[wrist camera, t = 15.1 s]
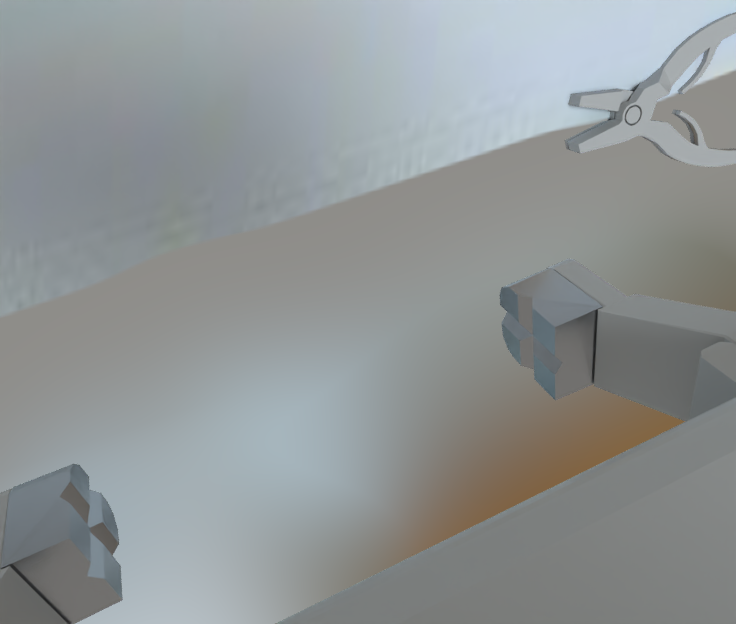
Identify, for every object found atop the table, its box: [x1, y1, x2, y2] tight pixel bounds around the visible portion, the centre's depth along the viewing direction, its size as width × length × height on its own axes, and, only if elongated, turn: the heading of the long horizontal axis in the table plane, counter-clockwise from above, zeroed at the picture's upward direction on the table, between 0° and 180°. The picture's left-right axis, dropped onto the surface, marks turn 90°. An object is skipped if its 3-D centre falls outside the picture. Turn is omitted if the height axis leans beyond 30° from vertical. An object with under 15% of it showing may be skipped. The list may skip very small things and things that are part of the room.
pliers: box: [565, 13, 736, 167], centre depth 40 cm, size 10×2×15 cm
